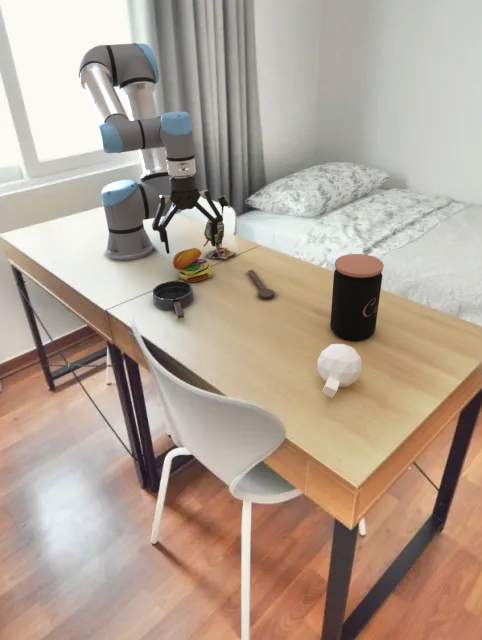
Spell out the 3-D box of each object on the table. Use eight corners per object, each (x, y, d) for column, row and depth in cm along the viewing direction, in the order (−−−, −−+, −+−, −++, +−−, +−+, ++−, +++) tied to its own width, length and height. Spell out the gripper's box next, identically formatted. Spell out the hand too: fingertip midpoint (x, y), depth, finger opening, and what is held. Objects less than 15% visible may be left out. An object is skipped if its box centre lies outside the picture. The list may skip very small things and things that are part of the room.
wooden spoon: (243, 274, 141) (243, 271, 140) (257, 272, 142) (257, 268, 141) (261, 301, 126) (261, 297, 126) (276, 298, 127) (276, 294, 127)
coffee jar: (365, 348, 106) (374, 278, 96) (322, 335, 111) (327, 267, 101) (380, 326, 113) (390, 258, 104) (339, 315, 118) (345, 250, 109)
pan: (152, 295, 132) (150, 284, 130) (189, 289, 134) (188, 278, 132) (156, 314, 123) (154, 302, 121) (197, 307, 125) (196, 295, 123)
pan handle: (174, 311, 124) (173, 301, 122) (180, 310, 124) (179, 300, 122) (178, 325, 118) (177, 315, 116) (185, 324, 118) (183, 314, 116)
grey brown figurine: (216, 247, 160) (211, 189, 149) (239, 255, 153) (236, 195, 142) (198, 254, 155) (192, 195, 144) (221, 263, 148) (216, 202, 137)
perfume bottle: (318, 355, 101) (302, 394, 93) (332, 327, 95) (316, 366, 86) (355, 372, 100) (342, 413, 91) (372, 345, 93) (359, 387, 85)
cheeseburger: (208, 284, 135) (197, 254, 131) (176, 290, 139) (164, 261, 134) (217, 269, 144) (206, 240, 139) (186, 275, 147) (175, 246, 142)
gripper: (137, 183, 119) (149, 259, 130) (230, 172, 124) (234, 246, 135) (134, 177, 125) (146, 250, 136) (223, 166, 130) (228, 237, 141)
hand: (190, 248), depth 136 cm, fingers open, 13 cm apart
